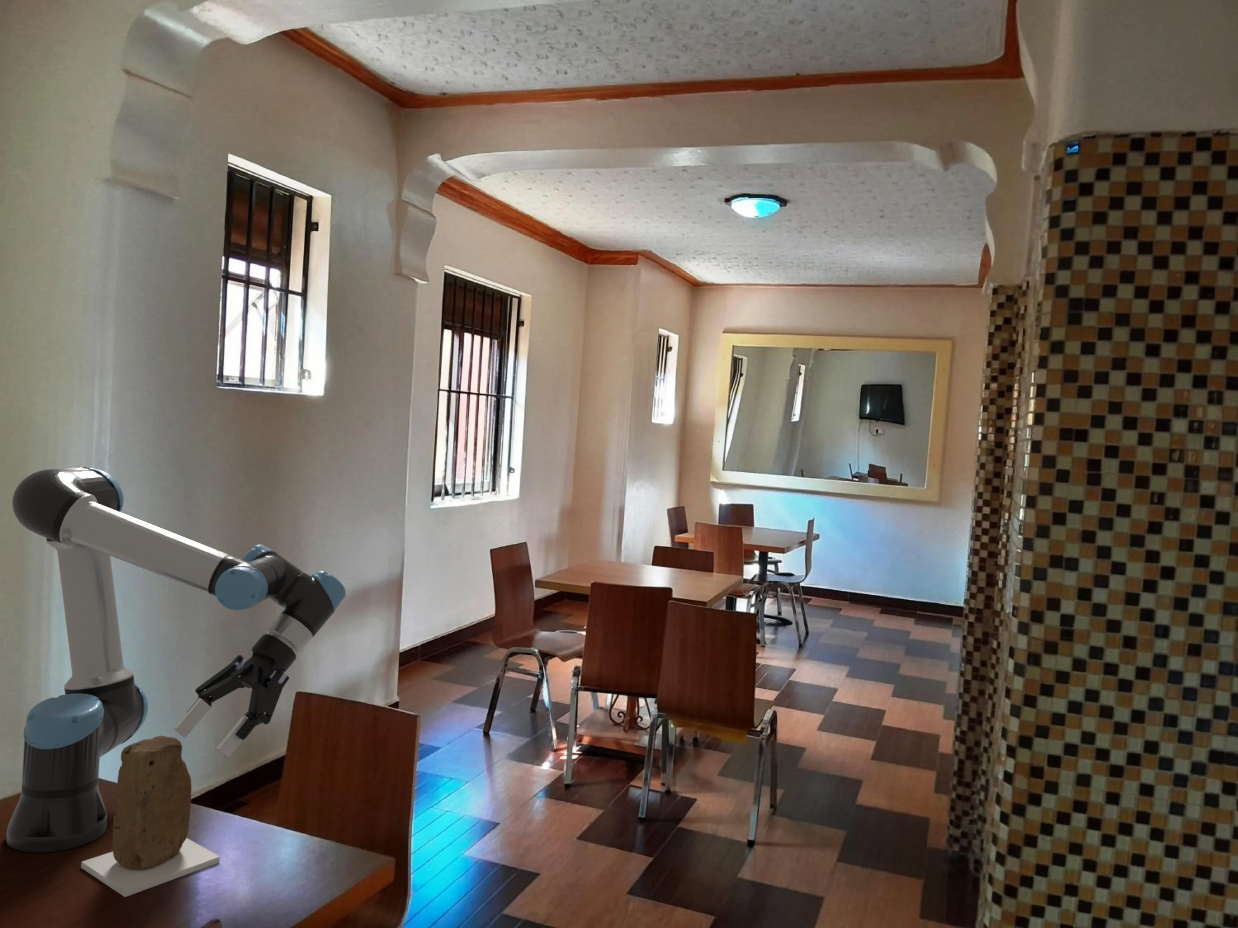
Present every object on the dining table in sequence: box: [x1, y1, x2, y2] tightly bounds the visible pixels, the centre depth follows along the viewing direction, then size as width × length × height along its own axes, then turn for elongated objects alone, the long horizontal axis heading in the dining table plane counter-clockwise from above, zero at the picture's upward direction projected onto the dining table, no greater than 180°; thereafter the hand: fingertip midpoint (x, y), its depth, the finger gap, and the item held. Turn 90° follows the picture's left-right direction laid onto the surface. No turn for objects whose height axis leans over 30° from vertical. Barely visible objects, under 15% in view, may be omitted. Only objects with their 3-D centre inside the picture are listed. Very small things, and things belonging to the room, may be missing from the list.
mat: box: [80, 837, 221, 898], centre depth 153 cm, size 14×16×1 cm
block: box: [112, 735, 192, 869], centre depth 153 cm, size 11×8×20 cm
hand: (200, 743), depth 158 cm, fingers open, 13 cm apart
